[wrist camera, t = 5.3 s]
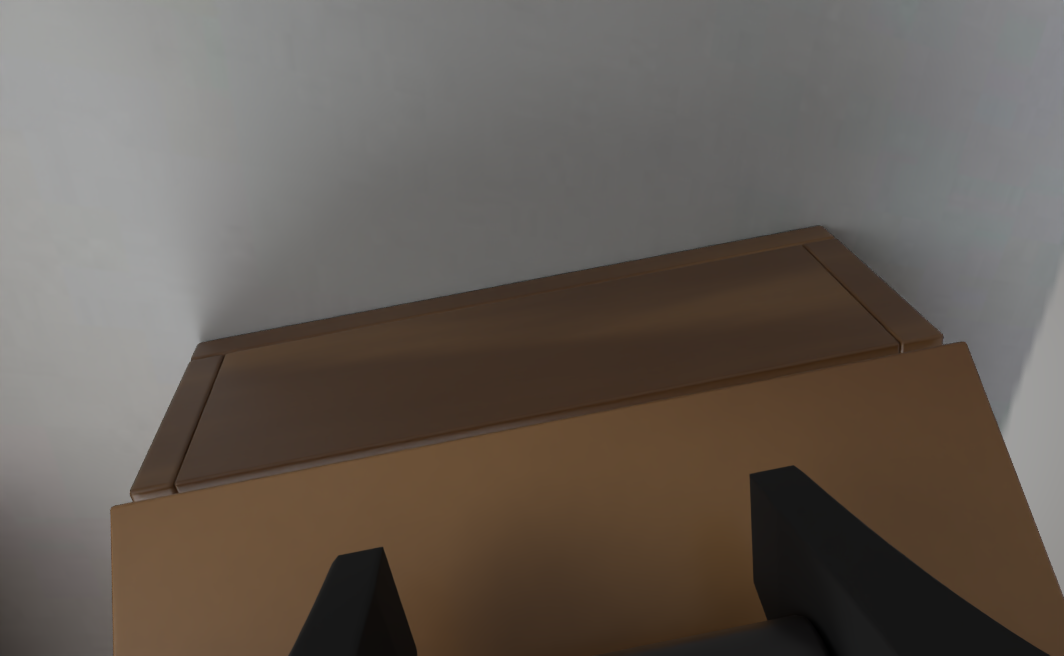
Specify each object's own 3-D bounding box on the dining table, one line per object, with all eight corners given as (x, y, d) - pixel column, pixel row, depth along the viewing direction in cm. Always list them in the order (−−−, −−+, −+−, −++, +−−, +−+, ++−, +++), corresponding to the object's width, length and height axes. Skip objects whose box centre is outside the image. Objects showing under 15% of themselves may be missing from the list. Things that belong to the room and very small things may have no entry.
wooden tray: (814, 579, 25) (902, 738, 21) (332, 676, 25) (313, 860, 20) (822, 223, 20) (945, 334, 15) (196, 341, 19) (125, 493, 15)
